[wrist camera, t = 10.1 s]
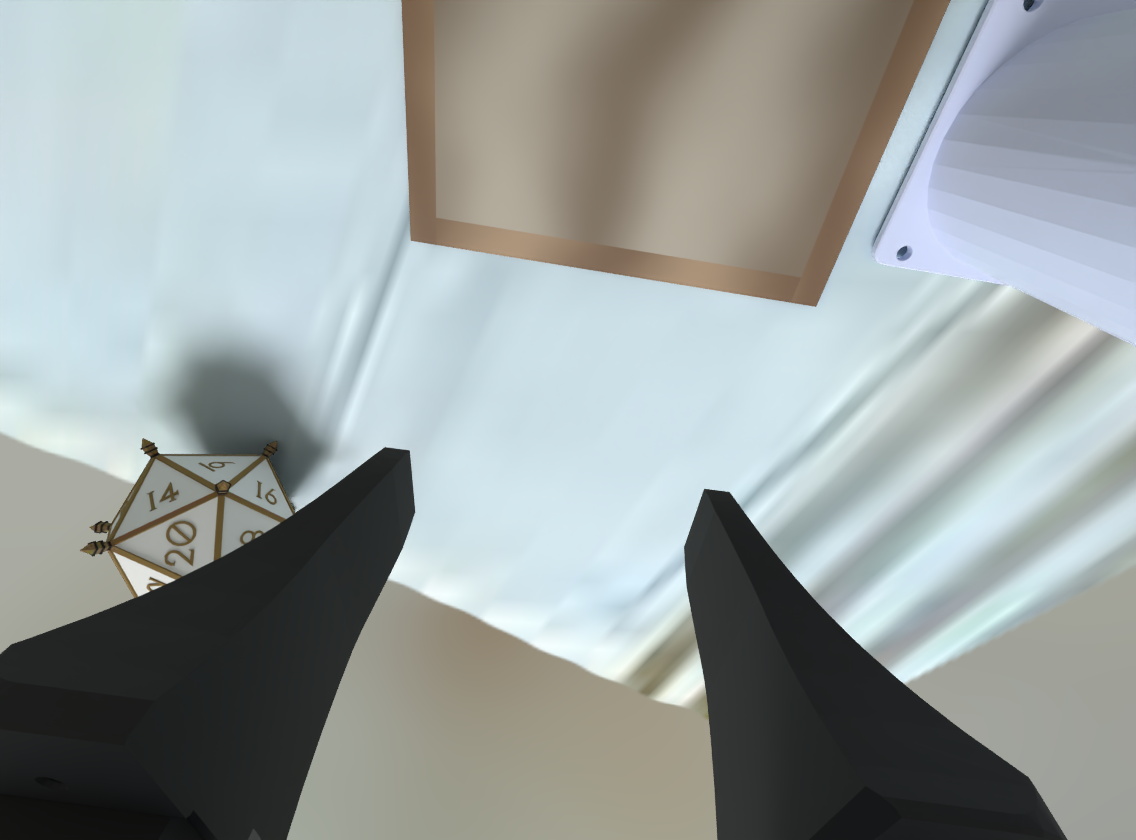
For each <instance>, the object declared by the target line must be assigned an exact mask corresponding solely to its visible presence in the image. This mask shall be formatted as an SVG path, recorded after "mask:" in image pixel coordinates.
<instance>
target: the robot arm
mask: <svg viewBox="0 0 1136 840" xmlns="http://www.w3.org/2000/svg"><path fill="white" fill-rule="evenodd" d="M1023 3H1024V0H989V1H988V3H987V6H986V8H985V10H984V12H983V14H982V16H981V18H980V20H979V23H978V25H977V27H976V29H975V31H974V33H973V35H972V37H971V39H970V42H969V44H968V46H967V48H966V50H965V52H964V54H963V56H962V59H961V61H960V63H959V65H958V67H957V69H956V71H955V73H954V75H953V78H952V80H951V82H950V84H949V86H948V88H947V90H946V92H945V95H944V97H943V99H942V101H941V103H940V105H939V107H938V109H937V111H936V114H935V116H934V118H933V120H932V122H931V124H930V126H929V128H928V131H927V133H926V135H925V137H924V139H923V141H922V143H921V145H920V147H919V150H918V152H917V154H916V156H915V158H914V160H913V162H912V164H911V166H910V169H909V171H908V173H907V175H906V177H905V179H904V181H903V183H902V186H901V188H900V190H899V192H898V194H897V196H896V198H895V200H894V202H893V205H892V207H891V209H890V211H889V213H888V215H887V217H886V219H885V222H884V224H883V226H882V228H881V230H880V232H879V234H878V236H877V238H876V241H875V243H874V245H873V247H872V251H871V254H872V258H873V259H874V260H875V261H876V262H878V263H880V264H883V265H888V266H894V267H900V268H906V269H912V270H918V271H924V272H930V273H936V274H942V275H948V276H954V277H961V278H967V279H973V280H979V281H985V282H991V283H997V284H1003V285H1009V286H1012V287H1014V288H1016V289H1018V290H1020V291H1022V292H1024V293H1026V294H1028V295H1031V296H1033V297H1035V298H1037V299H1039V300H1041V301H1043V302H1045V303H1047V304H1049V305H1051V306H1053V307H1055V308H1057V309H1060V310H1062V311H1064V312H1066V313H1068V314H1070V315H1072V316H1074V317H1076V318H1078V319H1080V320H1082V321H1084V322H1086V323H1089V324H1091V325H1093V326H1095V327H1097V328H1099V329H1101V330H1103V331H1105V332H1107V333H1109V334H1111V335H1113V336H1115V337H1118V338H1120V339H1122V340H1124V341H1126V342H1128V343H1130V344H1132V345H1134V346H1136V0H1035V1H1034V4H1033V5H1032V6H1031V8H1030V9H1029V10H1028V11H1026V10H1024V6H1023ZM904 246H907V251H906V253H905V254H904V255H903V256H901V257H900V258H897V257H896V255H897V252H898V251H899V249H900V248H902V247H904ZM414 514H415V505H414V494H413V482H412V471H411V460H410V451H409V450H402V449H394V448H386V447H385V448H383V449H382V450H381V451H379V452H378V453H377V454H375V455H374V456H372V457H371V458H370V459H368V460H367V461H366V462H365V463H363V464H362V465H361V466H359V467H358V468H357V469H355V470H354V471H353V472H352V473H350V474H349V475H348V476H346V477H345V478H344V479H342V480H341V481H340V482H338V483H337V484H336V485H334V486H333V487H332V488H330V489H329V490H327V491H326V492H325V493H323V494H322V495H321V496H319V497H318V498H317V499H315V500H314V501H312V502H311V503H309V504H308V505H306V506H305V507H303V508H302V509H300V510H299V511H297V512H296V513H295V514H293V515H292V516H290V517H289V518H287V519H286V520H284V521H283V522H281V523H280V524H278V525H276V526H275V527H273V528H272V529H270V530H268V531H267V532H265V533H263V534H262V535H260V536H258V537H257V538H255V539H253V540H251V541H250V542H248V543H246V544H244V545H243V546H241V547H239V548H237V549H236V550H234V551H232V552H230V553H228V554H226V555H225V556H223V557H221V558H219V559H217V560H215V561H213V562H211V563H209V564H207V565H205V566H203V567H201V568H199V569H197V570H195V571H192V572H190V573H188V574H186V575H184V576H182V577H180V578H178V579H176V580H174V581H172V582H170V583H168V584H166V585H163V586H161V587H159V588H157V589H154V590H152V591H150V592H148V593H145V594H143V595H141V596H138V597H136V598H134V599H131V600H129V601H126V602H124V603H122V604H119V605H117V606H115V607H112V608H110V609H107V610H104V611H102V612H99V613H97V614H94V615H92V616H89V617H87V618H84V619H81V620H78V621H76V622H73V623H70V624H67V625H65V626H62V627H59V628H56V629H54V630H51V631H48V632H46V633H43V634H40V635H37V636H35V637H32V638H29V639H26V640H23V641H20V642H17V643H14V644H12V645H10V646H9V647H8V648H7V649H6V650H5V651H3V652H2V653H1V654H0V840H286V839H287V836H288V832H289V829H290V826H291V823H292V820H293V817H294V814H295V811H296V807H297V804H298V801H299V798H300V795H301V791H302V788H303V786H304V782H305V780H306V777H307V774H308V771H309V768H310V765H311V762H312V759H313V756H314V753H315V750H316V747H317V745H318V741H319V739H320V736H321V733H322V730H323V727H324V725H325V722H326V719H327V717H328V713H329V711H330V708H331V706H332V703H333V700H334V697H335V695H336V692H337V689H338V687H339V684H340V681H341V679H342V676H343V674H344V671H345V668H346V666H347V663H348V661H349V658H350V656H351V653H352V650H353V648H354V646H355V643H356V641H357V639H358V637H359V635H360V632H361V630H362V628H363V626H364V624H365V622H366V620H367V619H368V617H369V614H370V613H371V611H372V609H373V607H374V605H375V602H376V601H377V599H378V597H379V595H380V593H381V591H382V589H383V587H384V585H385V583H386V581H387V579H388V577H389V575H390V573H391V571H392V569H393V567H394V565H395V563H396V561H397V559H398V557H399V555H400V553H401V550H402V548H403V545H404V543H405V540H406V537H407V534H408V532H409V529H410V526H411V523H412V520H413V517H414ZM684 552H685V570H686V584H687V591H688V596H689V602H690V607H691V612H692V618H693V623H694V628H695V633H696V638H697V643H698V649H699V654H700V659H701V664H702V669H703V674H704V681H705V687H706V694H707V703H708V714H709V724H710V735H711V746H712V760H713V773H714V786H715V803H716V819H717V820H716V821H717V839H718V840H1067V838H1066V837H1065V835H1064V833H1063V832H1062V830H1061V829H1060V827H1059V825H1058V824H1057V822H1056V820H1055V819H1054V817H1053V815H1052V814H1051V812H1050V811H1049V809H1048V807H1047V806H1046V804H1045V802H1044V801H1043V799H1042V798H1041V796H1040V794H1039V793H1038V791H1037V789H1036V788H1035V786H1034V785H1033V783H1032V782H1031V780H1030V779H1029V777H1027V776H1026V775H1024V774H1023V773H1022V772H1020V771H1019V770H1017V769H1016V768H1015V767H1013V766H1012V765H1010V764H1009V763H1008V762H1006V761H1005V760H1003V759H1002V758H1001V757H999V756H998V755H996V754H995V753H993V752H992V751H991V750H989V749H988V748H987V747H985V746H984V745H982V744H981V743H979V742H978V741H976V740H975V739H974V738H972V737H971V736H969V735H968V734H967V733H965V732H964V731H963V730H961V729H960V728H959V727H957V726H956V725H955V724H953V723H952V722H950V721H949V720H948V719H947V718H946V717H944V716H943V715H942V714H941V713H939V712H938V711H937V710H935V709H934V708H933V707H932V706H930V705H929V704H928V703H926V702H925V701H924V700H923V699H921V698H920V697H919V696H918V695H917V694H915V693H914V692H913V691H912V690H910V689H909V688H908V687H907V686H906V685H904V684H903V683H902V682H901V681H900V680H898V679H897V678H896V677H895V676H894V675H893V674H891V673H890V672H889V671H888V670H887V669H886V668H885V667H884V666H882V665H881V664H880V663H879V662H878V661H877V660H876V659H874V658H873V657H872V656H871V655H870V654H869V653H868V652H867V651H866V650H864V649H863V648H862V647H861V646H860V645H859V644H858V643H857V642H856V641H855V640H854V639H853V638H852V637H851V636H850V635H849V634H848V633H847V632H846V631H845V630H844V629H843V628H842V627H841V626H840V625H839V624H838V623H837V622H836V621H835V620H834V619H833V618H832V617H831V616H830V615H829V614H828V613H827V612H826V611H825V610H824V609H823V608H822V607H821V606H820V605H819V604H818V603H817V602H816V601H815V600H814V599H813V597H812V596H811V595H810V594H809V593H808V592H807V591H806V589H805V588H804V587H803V586H802V585H801V584H800V583H799V581H798V580H797V579H796V578H795V577H794V576H793V575H792V573H791V572H790V571H789V570H788V569H787V567H786V566H785V565H784V564H783V562H782V561H781V560H780V559H779V557H778V556H777V555H776V554H775V552H774V551H773V550H772V549H771V547H770V546H769V545H768V543H767V542H766V541H765V540H764V538H763V537H762V536H761V534H760V533H759V532H758V530H757V529H756V528H755V526H754V525H753V524H752V522H751V521H750V519H749V518H748V517H747V515H746V514H745V513H744V511H743V510H742V509H741V507H740V506H739V504H738V503H737V502H736V500H735V499H734V498H733V496H732V495H731V494H730V492H724V491H717V490H709V489H704V491H703V494H702V497H701V500H700V503H699V506H698V509H697V512H696V514H695V517H694V520H693V523H692V526H691V529H690V532H689V535H688V538H687V541H686V543H685V546H684Z"/></svg>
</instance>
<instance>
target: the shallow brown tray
mask: <svg viewBox="0 0 1136 840" xmlns="http://www.w3.org/2000/svg"><path fill="white" fill-rule="evenodd" d="M949 3H950V0H402V22H403V48H404V75H405V101H406V127H407V153H408V179H409V205H410V232H411V241H417V242H423V243H429V244H435V245H441V246H447V247H453V248H460V249H466V250H472V251H478V252H484V253H490V254H496V255H503V256H509V257H515V258H521V259H527V260H533V261H539V262H545V263H552V264H558V265H564V266H570V267H576V268H582V269H588V270H595V271H601V272H607V273H613V274H619V275H625V276H631V277H637V278H644V279H650V280H656V281H662V282H668V283H674V284H680V285H687V286H693V287H699V288H705V289H711V290H717V291H723V292H729V293H736V294H742V295H748V296H754V297H760V298H766V299H772V300H779V301H785V302H791V303H797V304H803V305H809V306H815V307H816V306H817V303H818V301H819V299H820V296H821V294H822V292H823V290H824V287H825V285H826V283H827V281H828V278H829V276H830V274H831V271H832V269H833V267H834V265H835V262H836V260H837V258H838V255H839V253H840V251H841V249H842V246H843V244H844V242H845V240H846V237H847V235H848V233H849V230H850V228H851V226H852V224H853V221H854V219H855V217H856V214H857V212H858V210H859V208H860V205H861V203H862V201H863V198H864V196H865V194H866V192H867V189H868V187H869V185H870V183H871V180H872V178H873V176H874V173H875V171H876V169H877V167H878V164H879V162H880V160H881V157H882V155H883V153H884V151H885V148H886V146H887V144H888V142H889V139H890V137H891V135H892V132H893V130H894V128H895V126H896V123H897V121H898V119H899V116H900V114H901V112H902V110H903V107H904V105H905V103H906V100H907V98H908V96H909V94H910V91H911V89H912V87H913V85H914V82H915V80H916V78H917V75H918V73H919V71H920V69H921V66H922V64H923V62H924V59H925V57H926V55H927V53H928V50H929V48H930V46H931V44H932V41H933V39H934V37H935V34H936V32H937V30H938V28H939V25H940V23H941V21H942V18H943V16H944V14H945V12H946V9H947V7H948V5H949Z"/></svg>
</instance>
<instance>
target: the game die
mask: <svg viewBox="0 0 1136 840" xmlns="http://www.w3.org/2000/svg"><path fill="white" fill-rule="evenodd" d="M154 444H155V443H152V442H150V441H148V440H146V439H144V438H143V439H142V448H141V450H142V449H143V451H144V452H145V453H144V454H147V455H149V456H150V457H151V459H150V460H149V462H148V464H147V465H146V467H145V469H144V470H143V472H142V474H141V475H140V477H139V479H138V480H137V482H136V484H135V485H134V487H133V489H132V490H131V492H130V493H129V495H128V497H127V498H126V500H125V502H124V503H123V505H122V507H121V508H120V510H119V512H118V513H117V515H116V517H115V518H114V520H113V522H112V523H108V521H106V522H102V521H100V522H98V523H96V524H95V525H93V526H91V527H90V528H91V529H92V530H94V532H95V533H101V532H103V533H107V532H108V531H109V533H108V537H107V541H106V542H103V541H98V542H96V541H94V542H91V543H88V545H87V546H86V547H84V548H83V549H81V550H80V551H83V552H86V553H89V554H90V555H92V556H95V554H102V553H103V552H104V551H108V553H109V554H110V556H111V558H112V560H113V561H114V563H115V565H116V567H117V569H118V570H119V572H120V574H121V575H122V577H123V579H124V581H125V582H126V584H127V586H128V588H129V589H130V591H131V593H132V594H133V596H134V598H136V597H138V596H141V595H143V594H145V593H148V592H150V591H152V590H154V589H157V588H159V587H161V586H163V585H166V584H168V583H170V582H172V581H174V580H176V579H178V578H180V577H182V576H184V575H186V574H188V573H190V572H192V571H195V570H197V569H199V568H201V567H203V566H205V565H207V564H209V563H211V562H213V561H215V560H217V559H219V558H221V557H223V556H225V555H226V554H228V553H230V552H232V551H234V550H236V549H237V548H239V547H241V546H243V545H244V544H246V543H248V542H250V541H251V540H253V539H255V538H257V537H258V536H260V535H262V534H263V533H265V532H267V531H268V530H270V529H272V528H273V527H275V526H276V525H278V524H280V523H281V522H283V521H284V520H286V519H287V518H289V517H290V516H292V515H293V514H295V512H294V510H293V507H292V505H291V503H290V501H289V499H288V497H287V495H286V493H285V491H284V489H283V487H282V485H281V483H280V481H279V479H278V477H277V475H276V473H275V470H274V468H273V466H272V464H271V462H270V460H269V456H271V455H272V454H273V455H274V452H275V451H277V441H275V442H273V443H271V444H269V445H268V444H267V447H266V448H264V452H263V454H159V453H158V451H157V449H158V448H157V447H155V445H154Z"/></svg>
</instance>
